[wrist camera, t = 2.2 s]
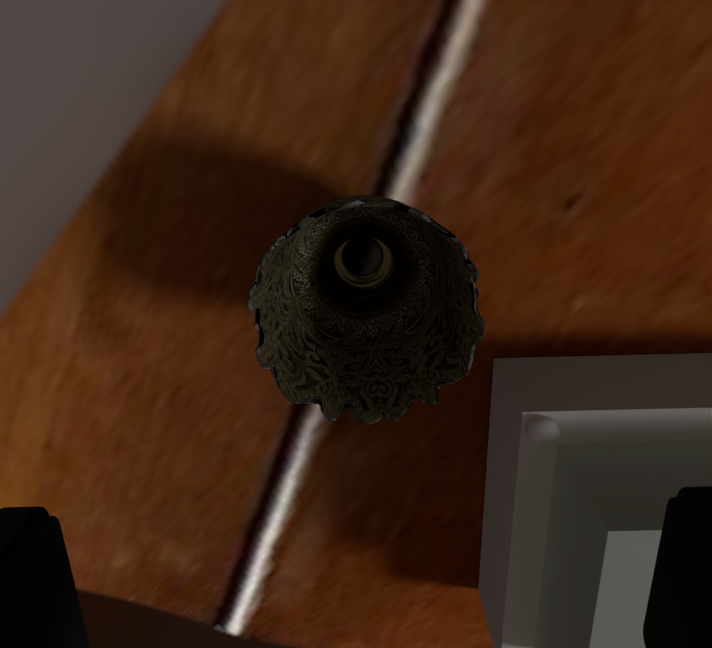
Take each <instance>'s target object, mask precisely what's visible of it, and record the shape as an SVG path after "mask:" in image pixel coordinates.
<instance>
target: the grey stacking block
mask: <svg viewBox="0 0 712 648" xmlns="http://www.w3.org/2000/svg"><path fill="white" fill-rule="evenodd" d="M697 486H712V353H691V354H649V355H607V356H565V357H523V358H494V363H493V377H492V392H491V407H490V422H489V437H488V452H487V467H486V482H485V496H484V511H483V526H482V541H481V556H480V571H479V586H478V591H479V594H480V598H481V602H482V606H483V610H484V614H485V618H486V622H487V626H488V630H489V634H490V638H491V642H492V646H493V648H646V647H645V643H644V639H643V625H644V620H645V614H646V609H647V604H648V599H649V594H650V589H651V584H652V579H653V573H654V568H655V563H656V558H657V553H658V548H659V543H660V538H661V532H662V527H663V522H664V517H665V512H666V507H667V503H668V501H669V499H670V498H672V497H677V494H678V492H679V491H680V489H681V488H684V487H697Z"/></svg>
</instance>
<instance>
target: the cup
mask: <svg viewBox="0 0 712 648" xmlns="http://www.w3.org/2000/svg"><path fill="white" fill-rule="evenodd" d="M357 239H369V240H371V241H373V242H374V243H376V244H377V245H378V247H379V248H380V251H381V255H382V258H381V263H380V265H379V267H378V268H377V269H376V270H375V271H374V272H372V273H370V274H367V275H358V274H355V273H353V272H351V271H350V270H349V269H348V268H347V266H346V264H345V261H344V252H345V250H346V248H347V246H348V245H349V244H350V243H351V242H353V241H354V240H357ZM477 278H478V279H479V278H480V277H479V273H478V271H477V269H476V267H475V266H474V264H473V263H472V262H471V261H470V260H469V256H468V252H467V249H466V247H465V246H464V245H463V244H462V242H461V241H460V240H459V239H458V238H457V237H456V236H455V235H454V234H452V233H451V232H450V231H448V230H447V229H445V228H444V227H442V226H441V225H439V224H438V223H437V222H435V221H434V220H433V219H431V218H430V217H429V216H428V215H426V214H424V213H422V212H421V211H419V210H417V209H415V208H412V207H410V206H408V205H405V204H403V203H401V202H398V201H395V200H392V199H389V198H384V197H379V196H368V195H366V196H352V197H346V198H342V199H338V200H335V201H333V202H330V203H327V204H325V205H323V206H321V207H319V208H317V209H316V210H314V211H313V212H311V213H310V214H308V215H306V216H305V217H303V218H301V219H300V220H298V221H297V223H296V224H295V225H293V226H292V227H291V228H290V229H289V230H287V231H286V232H285V233H284V234H283V235H282V236H281V237H279V238H278V239H277V240H276V241H275V242H274V243H273V244H272V246H271V247H270V248H269V249H268V250H267V251H266V253H265V254H264V256H263V257H262V259H261V261H260V264H259V266H258V270H257V275H256V278H255V282H254V283H253V285H252V287H251V289H250V292H249V295H248V298H247V309H248V310H251V311H252V313H253V312H255V321H254V325H255V327H256V329H257V331H258V335H259V343H258V347H257V348H256V350H255V351H256V355H257V359H258V361H259V364H260V365H261V367H263V368H264V369H271V372H272V374H273V378H274V381H275V383H276V385H277V387H278V388H279V389H280V391H281V392H282V394H283V395H284V396H285V397H286V398H287V399H288V400H289V401H290V402H292V403H297V404H308V403H314V404H319V405H320V407H321V412H322V413H323V414H324V416H325V417H326V418H327V419H328V420H329V421H335V420H336V419H337V418H338V417H339V416H340V415H341V414H342V413H343V411H344V410H345V409H346V408H349V410H350V412H351V414H352V415H353V416H354V417H355V419H356V420H357V421H358V422H361V423H363V424H367V425H369V424H374V423H376V422H379V421H380V420H381V418H382V417H383V416H384V417H385V418H389V419H391V420H392V421H398V420H399V419H400V418H401V417H402V416H403V414H404V413H405V412H406V410H407V409H408V408H410V407H412V405H413V401H414V399H415V398H417V399H418V400H420V401H421V402H422V403H426V404H429V405H434V404H435V403H436V401H437V398H438V395H439V389H440V387H442V386H443V385H445V384H447V383H450V384H454V383H455V382H457V381H458V380H460V379H462V378H463V377H465V376H466V375H468V373H469V371H470V369H471V367H472V363H473V358H474V353H475V351H476V345H477V341H482V339H483V336H484V333H485V324H484V320H483V318H481V316H480V313H479V311H478V308H477V305H478V303H477V300H478V297H479V293H478V290H477V287H476V283H475V281H476V280H477ZM320 407H319V408H320ZM344 407H345V408H344Z"/></svg>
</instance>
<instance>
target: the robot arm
mask: <svg viewBox="0 0 712 648" xmlns="http://www.w3.org/2000/svg"><path fill="white" fill-rule="evenodd" d="M643 639H644V643H645V647H646V648H712V486H697V487H684V488H681V489H680V491H679V492H678V494H677V497H672V498H670V499H669V501H668V503H667V507H666V512H665V517H664V522H663V527H662V532H661V538H660V543H659V548H658V553H657V558H656V563H655V568H654V573H653V579H652V584H651V589H650V594H649V599H648V604H647V609H646V614H645V620H644V625H643ZM0 648H90V646H89V641H88V637H87V633H86V629H85V624H84V620H83V616H82V613H81V608H80V604H79V600H78V596H77V592H76V588H75V583H74V579H73V575H72V571H71V567H70V563H69V559H68V555H67V551H66V547H65V542H64V538H63V534H62V530H61V526H60V523H59V520H58V519H57V518H56V517H55V516H49V514H48V511H47V510H46V509H45V508H44V507H8V508H2V509H0Z"/></svg>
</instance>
